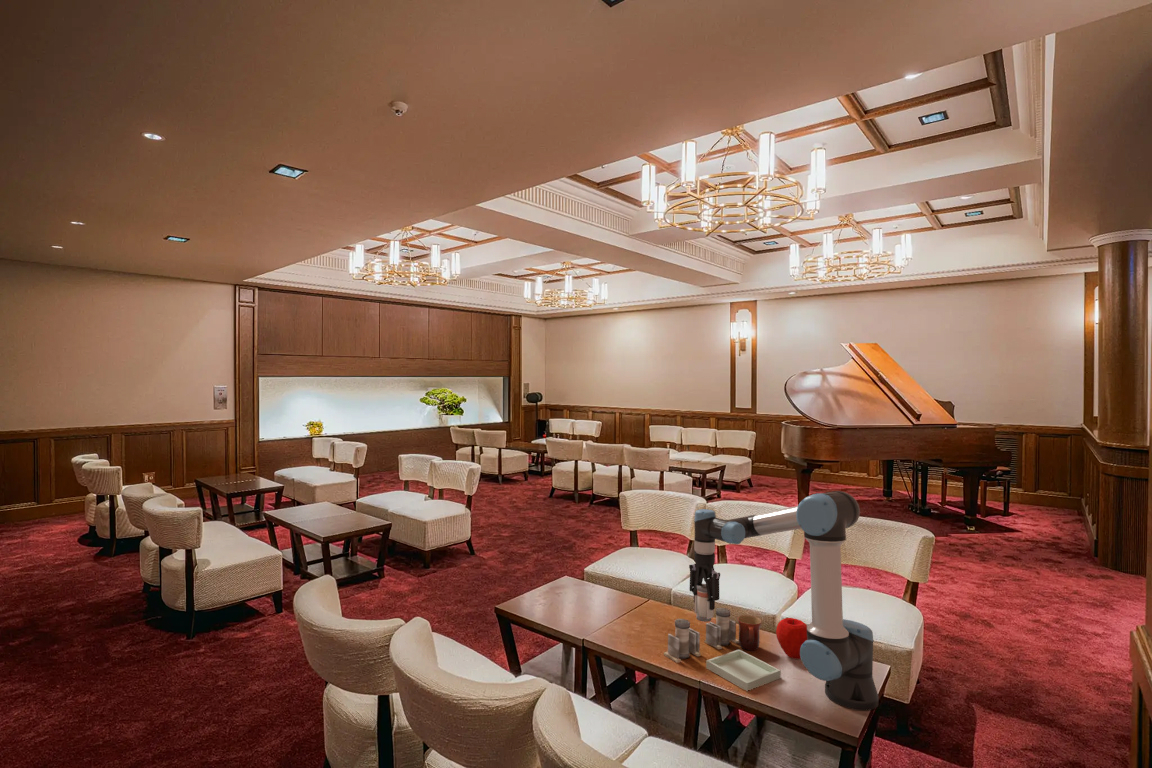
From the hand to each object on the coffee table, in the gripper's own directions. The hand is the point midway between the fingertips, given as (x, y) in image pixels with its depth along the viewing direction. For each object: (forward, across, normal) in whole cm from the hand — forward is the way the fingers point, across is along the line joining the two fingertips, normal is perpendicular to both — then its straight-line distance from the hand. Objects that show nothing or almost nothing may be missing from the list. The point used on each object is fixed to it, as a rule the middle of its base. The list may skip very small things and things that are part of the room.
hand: (703, 615), depth 208 cm
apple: (+13, -21, -24) cm, 34 cm away
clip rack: (+12, 0, 0) cm, 13 cm away
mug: (+13, -9, -15) cm, 22 cm away
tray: (+13, -20, +2) cm, 23 cm away
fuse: (+1, 0, 0) cm, 1 cm away
